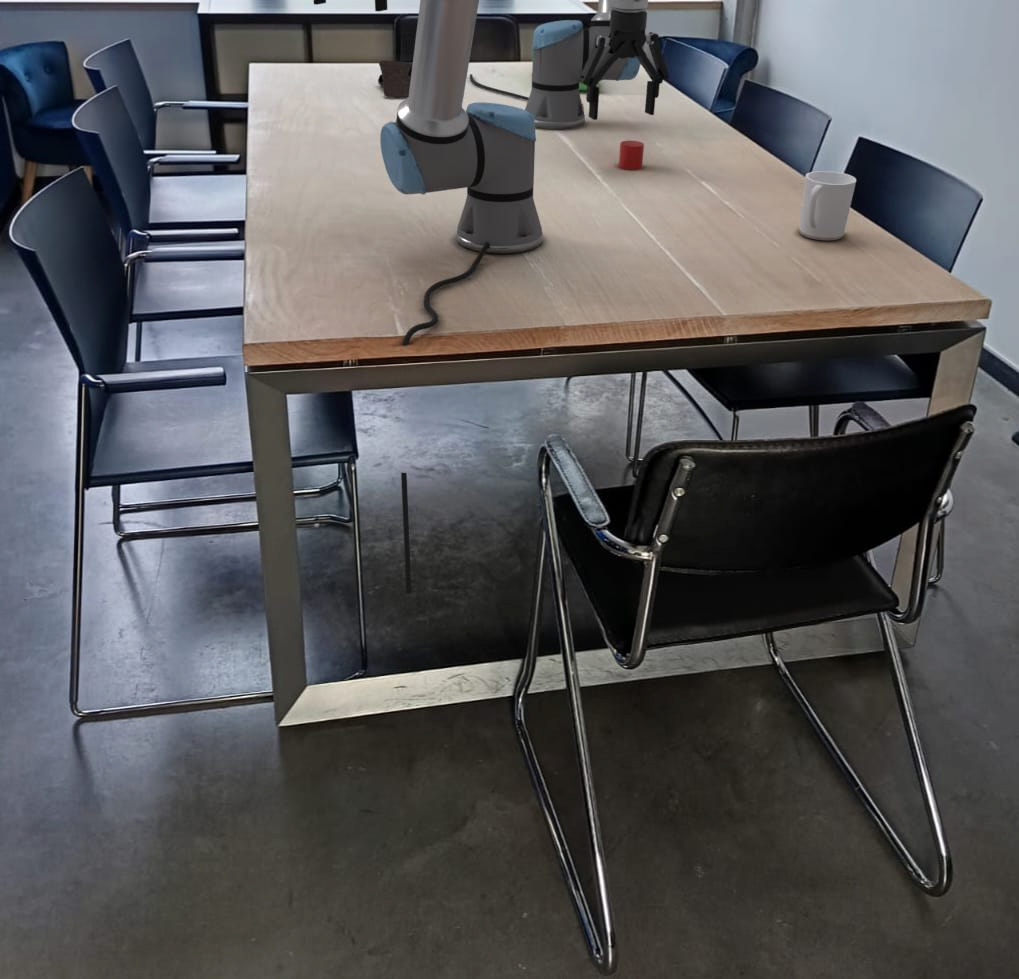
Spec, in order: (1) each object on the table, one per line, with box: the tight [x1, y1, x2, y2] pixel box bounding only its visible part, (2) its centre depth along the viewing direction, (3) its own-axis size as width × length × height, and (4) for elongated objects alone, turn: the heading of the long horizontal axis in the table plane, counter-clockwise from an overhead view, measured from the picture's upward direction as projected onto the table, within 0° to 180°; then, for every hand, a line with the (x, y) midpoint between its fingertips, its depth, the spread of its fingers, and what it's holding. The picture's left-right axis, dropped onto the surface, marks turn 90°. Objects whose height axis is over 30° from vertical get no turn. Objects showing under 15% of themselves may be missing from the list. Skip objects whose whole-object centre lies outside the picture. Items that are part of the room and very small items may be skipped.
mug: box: [798, 170, 857, 241], centre depth 199 cm, size 11×9×10 cm
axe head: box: [377, 59, 413, 99], centre depth 299 cm, size 18×8×15 cm
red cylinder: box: [618, 140, 645, 171], centre depth 238 cm, size 5×5×5 cm
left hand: (350, 7), depth 197 cm, fingers open, 13 cm apart
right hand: (621, 116), depth 235 cm, fingers open, 13 cm apart
